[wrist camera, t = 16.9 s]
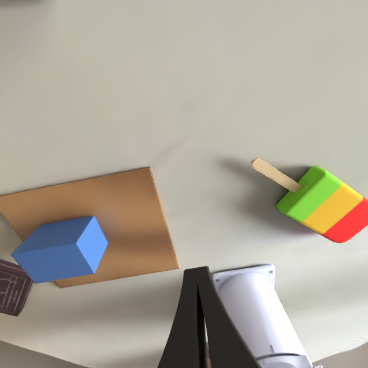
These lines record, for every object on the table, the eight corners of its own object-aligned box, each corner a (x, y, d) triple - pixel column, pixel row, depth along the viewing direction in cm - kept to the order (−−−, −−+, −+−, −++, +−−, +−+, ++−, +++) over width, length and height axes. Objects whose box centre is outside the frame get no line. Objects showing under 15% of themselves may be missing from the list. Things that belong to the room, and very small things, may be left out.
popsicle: (329, 236, 23) (341, 248, 21) (231, 180, 19) (237, 189, 17) (369, 202, 21) (386, 212, 19) (269, 132, 17) (280, 136, 15)
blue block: (94, 274, 18) (35, 283, 18) (108, 243, 21) (58, 251, 22) (76, 243, 16) (10, 254, 16) (94, 215, 19) (40, 224, 20)
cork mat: (179, 266, 24) (179, 268, 24) (60, 286, 25) (59, 288, 24) (150, 166, 18) (149, 168, 17) (-8, 197, 18) (-11, 198, 18)
